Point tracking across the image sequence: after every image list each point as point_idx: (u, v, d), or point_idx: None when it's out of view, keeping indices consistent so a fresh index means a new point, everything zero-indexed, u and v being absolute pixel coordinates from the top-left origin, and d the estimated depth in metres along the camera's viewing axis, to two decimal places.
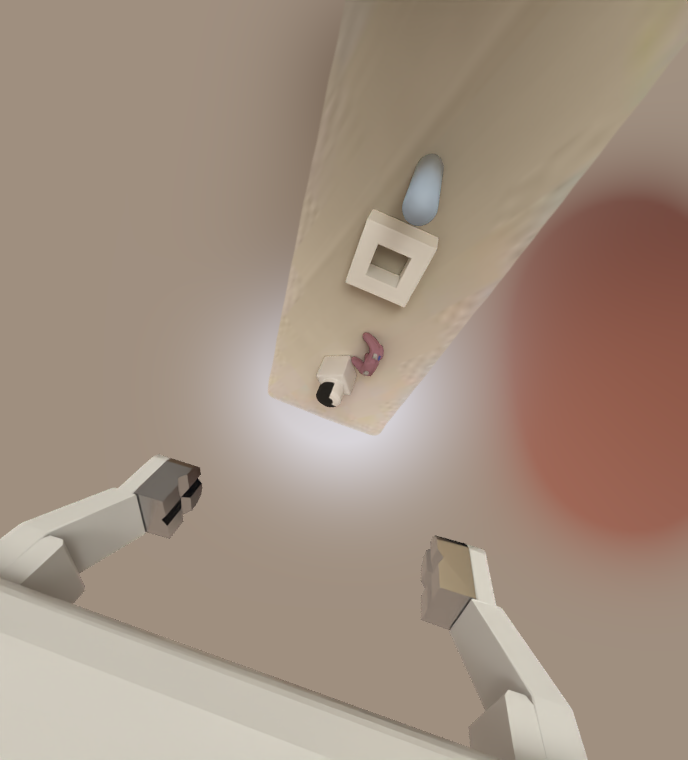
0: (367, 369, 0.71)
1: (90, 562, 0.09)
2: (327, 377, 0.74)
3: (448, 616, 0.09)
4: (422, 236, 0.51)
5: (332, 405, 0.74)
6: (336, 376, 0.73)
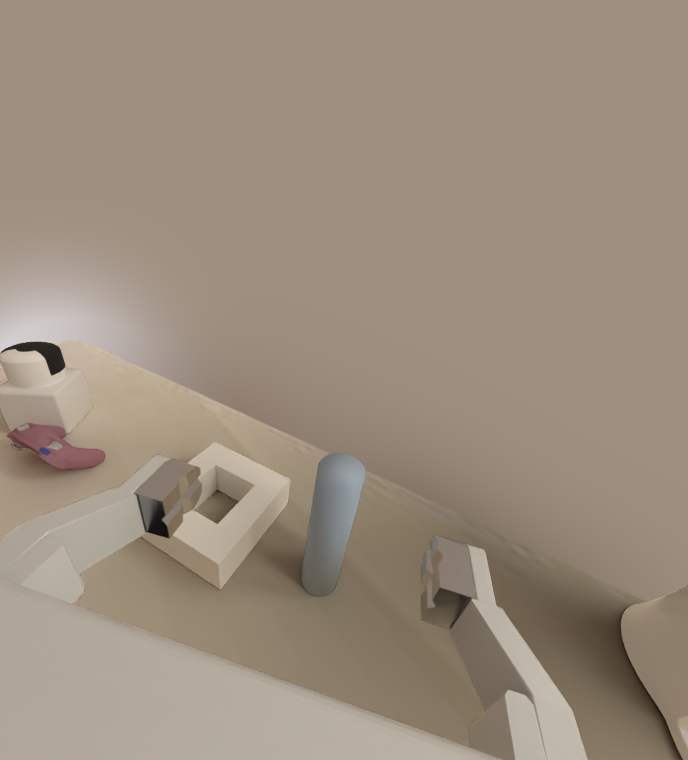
0: (34, 428, 0.38)
1: (90, 562, 0.09)
2: (66, 377, 0.45)
3: (448, 616, 0.09)
4: (238, 553, 0.32)
5: (9, 349, 0.41)
6: (58, 386, 0.43)
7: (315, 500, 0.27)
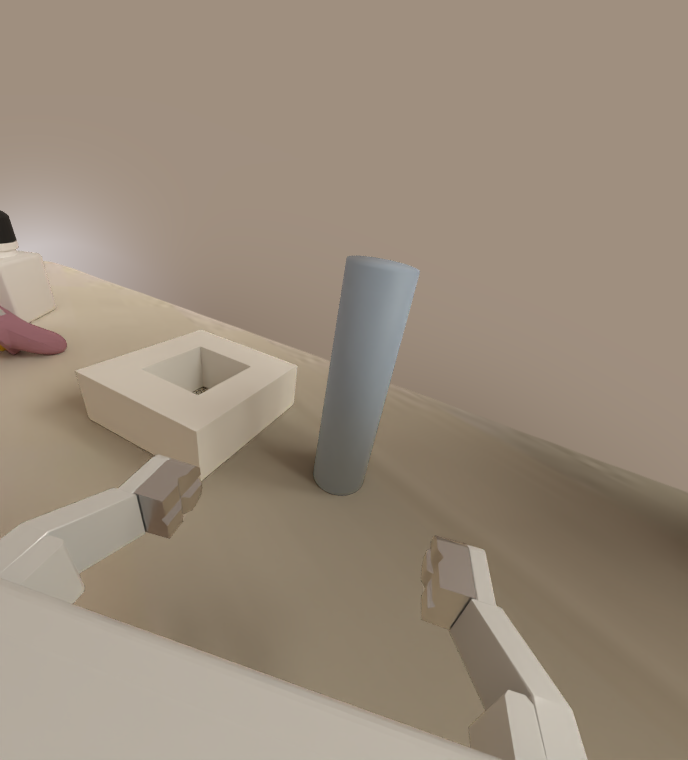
0: None
1: (90, 562, 0.09)
2: (18, 255, 0.36)
3: (448, 616, 0.09)
4: (227, 436, 0.23)
5: None
6: (5, 259, 0.34)
7: (340, 318, 0.18)
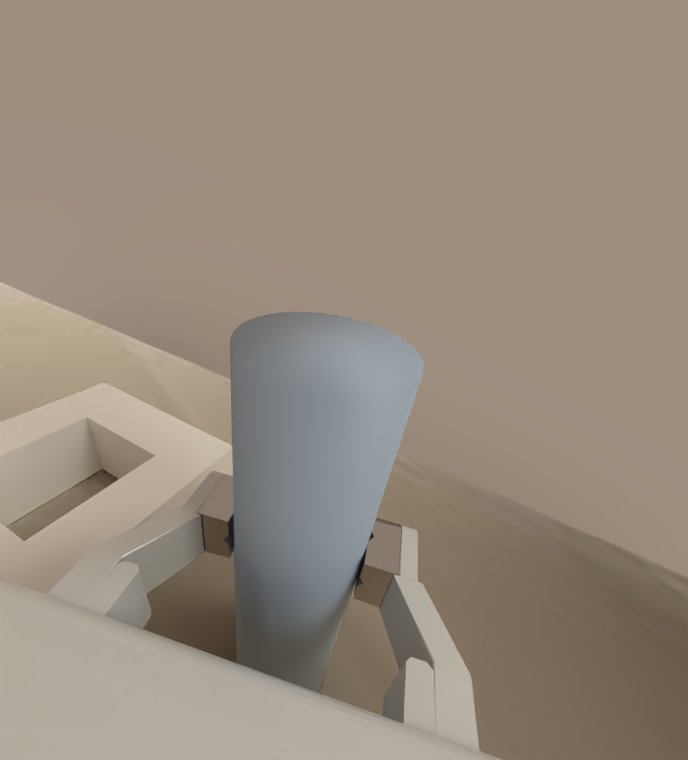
0: None
1: (155, 584, 0.09)
2: None
3: (376, 593, 0.09)
4: None
5: None
6: None
7: (233, 468, 0.07)
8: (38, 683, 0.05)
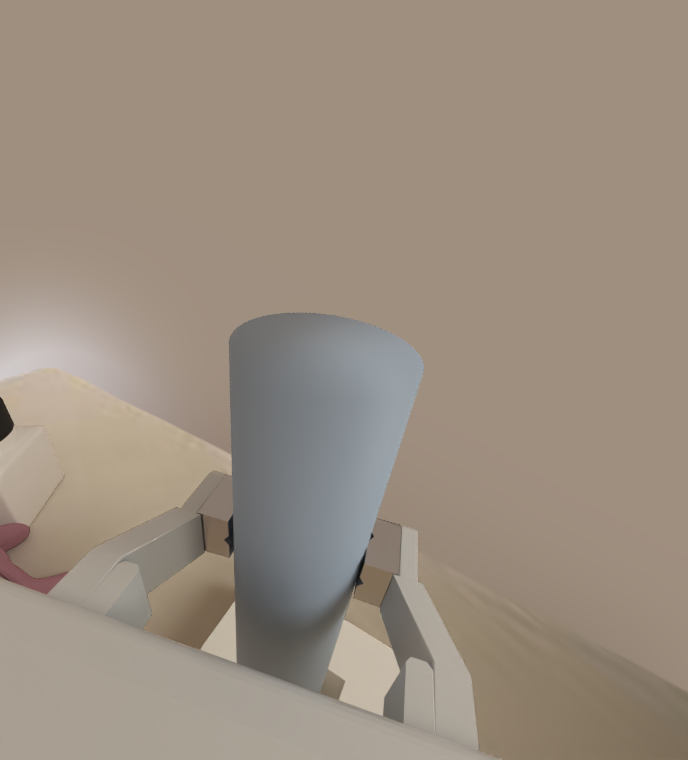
0: None
1: (154, 584, 0.09)
2: (17, 444, 0.28)
3: (376, 593, 0.09)
4: None
5: None
6: (1, 462, 0.26)
7: (232, 469, 0.07)
8: (38, 683, 0.05)
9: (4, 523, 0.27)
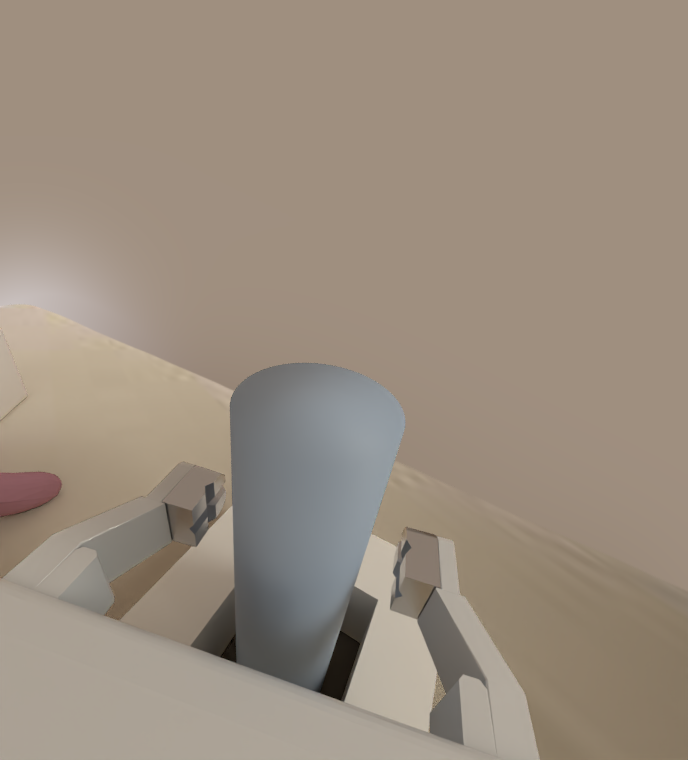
0: None
1: (119, 572, 0.09)
2: None
3: (415, 605, 0.09)
4: None
5: None
6: None
7: None
8: (38, 683, 0.05)
9: None
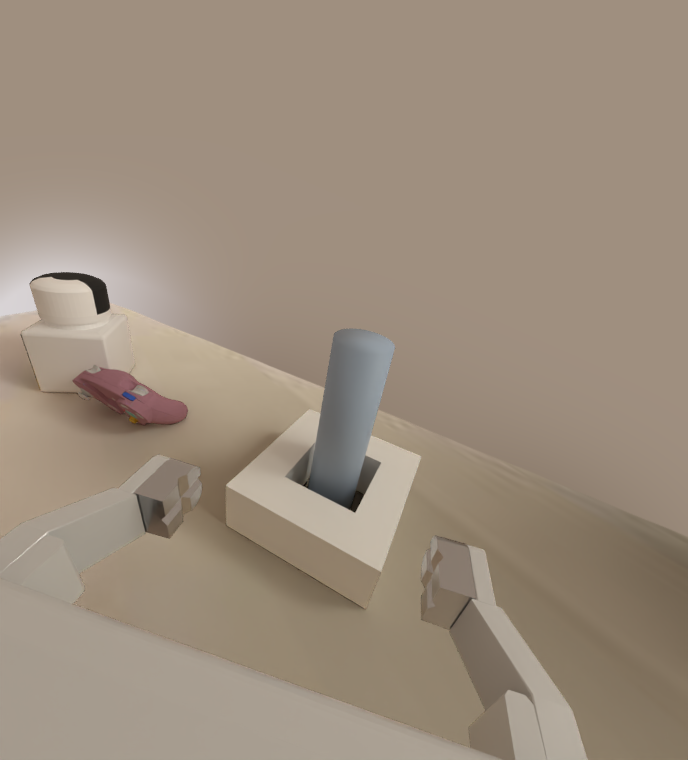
0: (110, 370, 0.30)
1: (90, 562, 0.09)
2: (111, 321, 0.36)
3: (448, 616, 0.09)
4: None
5: (43, 277, 0.31)
6: (104, 329, 0.34)
7: (328, 383, 0.21)
8: (38, 683, 0.05)
9: None
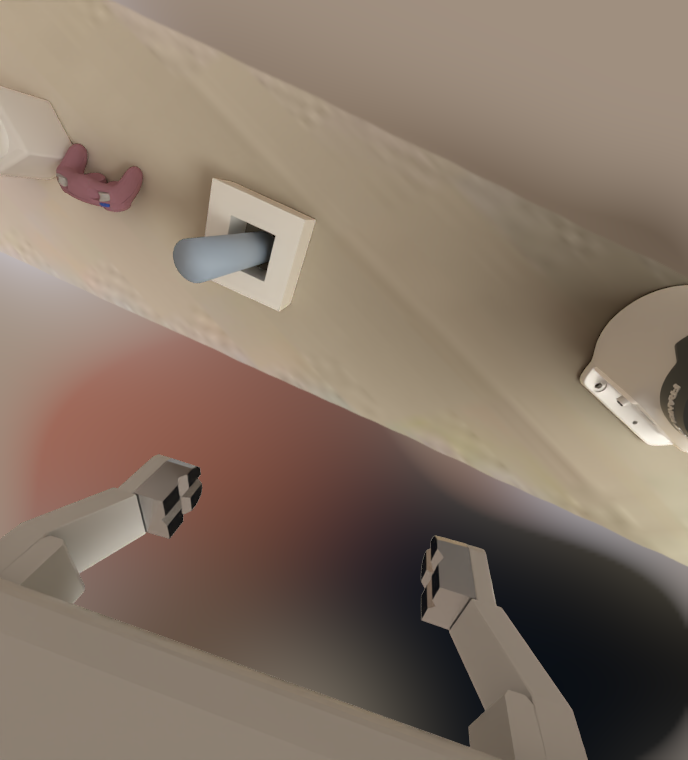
0: (71, 183, 0.40)
1: (90, 562, 0.09)
2: None
3: (448, 616, 0.09)
4: (290, 289, 0.43)
5: None
6: (13, 136, 0.37)
7: None
8: (38, 683, 0.05)
9: None
